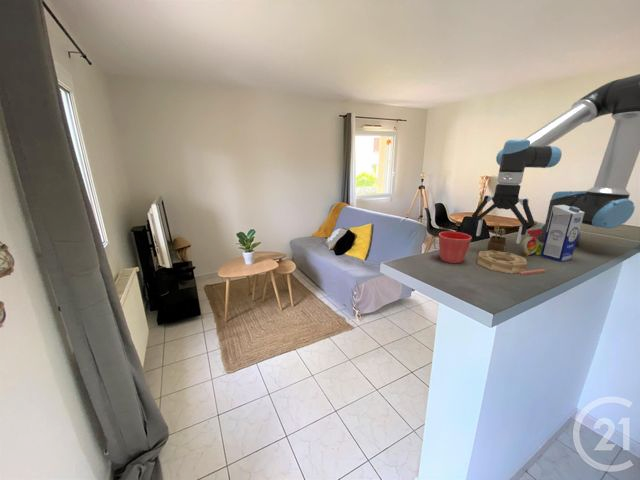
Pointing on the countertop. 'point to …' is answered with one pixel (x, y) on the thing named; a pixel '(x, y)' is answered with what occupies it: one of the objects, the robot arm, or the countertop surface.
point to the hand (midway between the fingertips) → (497, 239)
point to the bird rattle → (531, 246)
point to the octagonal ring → (502, 261)
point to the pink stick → (532, 272)
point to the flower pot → (453, 246)
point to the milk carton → (562, 232)
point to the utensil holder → (497, 241)
